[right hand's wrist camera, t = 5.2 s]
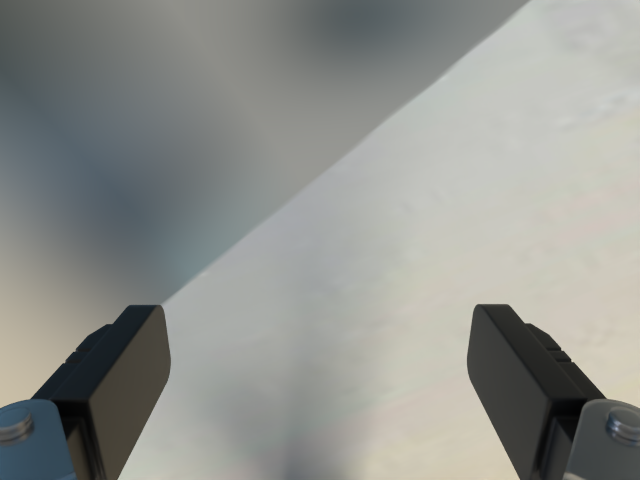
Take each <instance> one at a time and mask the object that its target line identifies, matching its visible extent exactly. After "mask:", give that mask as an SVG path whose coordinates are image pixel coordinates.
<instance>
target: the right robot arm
mask: <svg viewBox="0 0 640 480" xmlns="http://www.w3.org/2000/svg"><path fill="white" fill-rule="evenodd" d="M170 366H171V357H170V349H169V342H168V335H167V328H166V321H165V314H164V310H163V308H162V306H161V305H129V306H128V307H127V308H126V309H125V310H124V311H123V313H122V314H121V315H120V316H119V317H118V318H117V320H116V321H115V322H114V323H113V324H106V325H105V326H103V327H102V328H100V329H98V330H97V331H95V332H93V333H92V334H90V335H89V336H87V337H86V339H85V340H84V341H83V342H82V343H81V344H80V345H79V346H78V347H77V348H76V352H73V353H72V354H71V355H70V356H69V357H68V358H67V359H66V362H65V363H63V364H62V365H61V366H60V367H59V368H58V369H57V370H56V371H55V373H54V374H53V375H52V376H51V377H50V378H49V379H48V380H47V381H46V382H45V383H44V385H43V386H42V387H41V388H40V389H39V390H38V391H37V392H36V393H35V394H34V396H33V397H32V398H31V399H29V400H24V401H19V402H16V403H13V404H9V405H7V406H4V407H2V408H0V480H117V479H118V477H119V475H120V473H121V471H122V470H123V468H124V466H125V464H126V462H127V460H128V458H129V456H130V454H131V452H132V450H133V448H134V446H135V444H136V442H137V440H138V438H139V436H140V434H141V432H142V430H143V428H144V426H145V424H146V422H147V420H148V418H149V416H150V414H151V412H152V411H153V409H154V407H155V405H156V403H157V401H158V399H159V397H160V395H161V393H162V391H163V389H164V387H165V385H166V383H167V381H168V378H169V373H170ZM467 368H468V374H469V378H470V380H471V383H472V385H473V387H474V389H475V391H476V393H477V395H478V397H479V399H480V401H481V403H482V405H483V407H484V409H485V411H486V413H487V415H488V417H489V419H490V421H491V423H492V425H493V427H494V429H495V430H496V432H497V434H498V436H499V438H500V440H501V442H502V444H503V446H504V448H505V450H506V452H507V454H508V456H509V458H510V460H511V462H512V464H513V466H514V468H515V470H516V472H517V474H518V476H519V478H520V480H640V408H638V407H636V406H633V405H631V404H628V403H624V402H621V401H617V400H611V399H607V398H606V397H605V396H604V395H603V394H602V393H601V392H600V391H599V390H598V388H597V387H596V386H595V385H594V384H593V383H592V382H591V381H590V380H589V378H588V377H587V376H586V375H585V374H584V373H583V372H582V371H581V370H580V369H579V367H578V366H577V365H576V364H575V363H574V362H571V359H570V357H569V356H568V355H567V354H566V353H565V352H564V351H561V347H560V346H559V345H558V344H557V343H556V342H555V341H554V340H553V339H552V338H551V336H550V335H549V334H547V333H545V332H544V331H542V330H540V329H539V328H537V327H535V326H534V325H532V324H525V323H524V322H523V321H522V320H521V318H520V317H519V316H518V315H517V314H516V313H515V311H514V310H513V309H512V308H511V307H510V306H509V305H508V304H478V305H476V306H475V308H474V311H473V318H472V325H471V332H470V339H469V347H468V354H467Z"/></svg>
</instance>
